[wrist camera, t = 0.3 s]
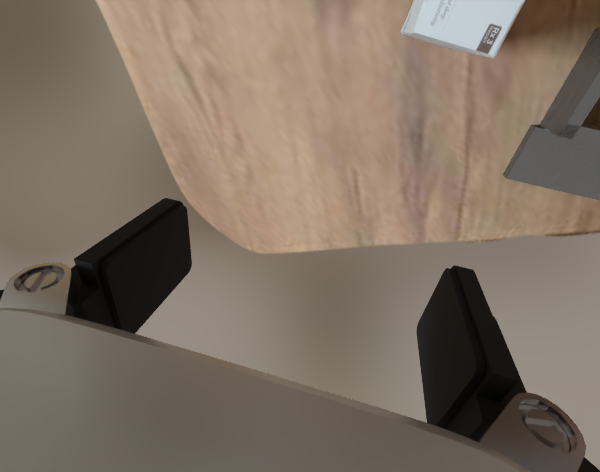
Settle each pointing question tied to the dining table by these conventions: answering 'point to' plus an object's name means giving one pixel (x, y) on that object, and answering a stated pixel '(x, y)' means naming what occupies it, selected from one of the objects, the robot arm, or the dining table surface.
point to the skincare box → (463, 23)
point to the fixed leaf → (566, 135)
